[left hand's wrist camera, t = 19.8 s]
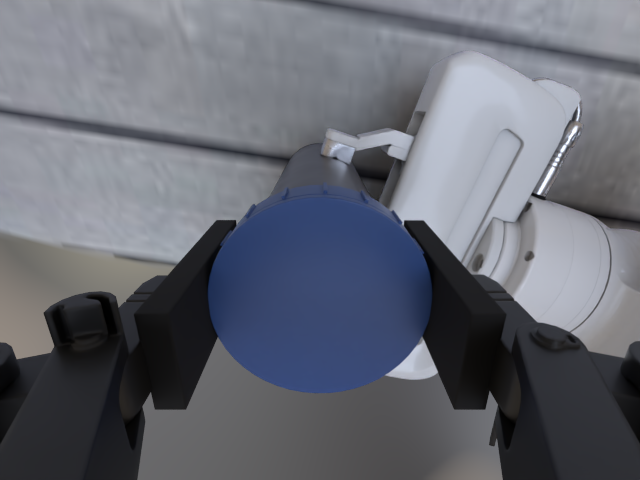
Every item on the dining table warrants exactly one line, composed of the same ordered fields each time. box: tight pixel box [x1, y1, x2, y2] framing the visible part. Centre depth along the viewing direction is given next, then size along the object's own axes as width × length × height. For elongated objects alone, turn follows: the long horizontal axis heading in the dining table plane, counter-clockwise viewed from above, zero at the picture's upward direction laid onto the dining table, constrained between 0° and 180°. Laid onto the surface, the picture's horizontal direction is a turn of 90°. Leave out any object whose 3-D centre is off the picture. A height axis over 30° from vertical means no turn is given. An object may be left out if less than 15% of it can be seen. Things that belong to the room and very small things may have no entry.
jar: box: [270, 143, 370, 197], centre depth 19 cm, size 6×6×17 cm
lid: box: [208, 182, 432, 393], centre depth 11 cm, size 7×7×2 cm
